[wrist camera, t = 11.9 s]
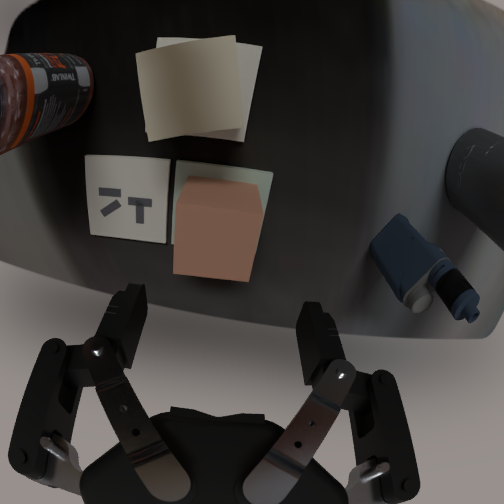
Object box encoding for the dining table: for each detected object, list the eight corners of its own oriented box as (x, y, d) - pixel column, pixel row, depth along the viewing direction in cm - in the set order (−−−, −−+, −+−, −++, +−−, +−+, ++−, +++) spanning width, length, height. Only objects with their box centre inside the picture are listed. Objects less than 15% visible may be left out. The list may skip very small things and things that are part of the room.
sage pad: (272, 172, 20) (273, 174, 20) (255, 251, 24) (255, 254, 23) (177, 159, 19) (176, 161, 19) (172, 241, 23) (171, 244, 22)
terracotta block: (257, 184, 20) (263, 214, 16) (245, 242, 23) (248, 282, 19) (188, 175, 19) (176, 203, 15) (184, 234, 22) (173, 273, 18)
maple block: (234, 48, 14) (235, 35, 10) (241, 117, 17) (244, 127, 13) (160, 60, 14) (135, 53, 10) (169, 127, 17) (148, 141, 13)
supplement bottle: (105, 53, 14) (-5, 48, 4) (90, 128, 17) (-13, 184, 7) (45, 56, 13) (-63, 69, 3) (34, 124, 16) (-66, 175, 6)
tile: (261, 47, 15) (262, 46, 14) (243, 141, 19) (243, 141, 18) (159, 38, 14) (158, 37, 13) (146, 131, 18) (145, 132, 17)
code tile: (170, 159, 19) (169, 160, 19) (166, 240, 23) (165, 243, 22) (87, 154, 18) (84, 156, 18) (92, 232, 22) (90, 234, 21)
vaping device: (414, 222, 23) (490, 310, 13) (378, 261, 25) (436, 359, 15) (400, 207, 22) (483, 297, 12) (362, 248, 24) (423, 352, 14)
